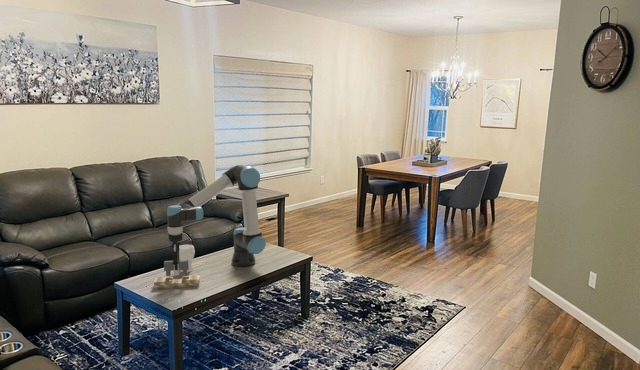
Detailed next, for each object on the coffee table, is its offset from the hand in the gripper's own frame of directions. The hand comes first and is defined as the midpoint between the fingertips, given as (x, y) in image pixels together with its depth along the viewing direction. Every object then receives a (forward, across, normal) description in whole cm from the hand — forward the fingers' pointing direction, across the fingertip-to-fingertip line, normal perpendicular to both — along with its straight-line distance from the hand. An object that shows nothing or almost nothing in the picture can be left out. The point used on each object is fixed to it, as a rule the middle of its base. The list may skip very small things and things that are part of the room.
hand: (176, 273), depth 259 cm
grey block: (+1, 0, 0) cm, 1 cm away
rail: (+7, 0, 0) cm, 7 cm away
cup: (+7, -24, +3) cm, 25 cm away
